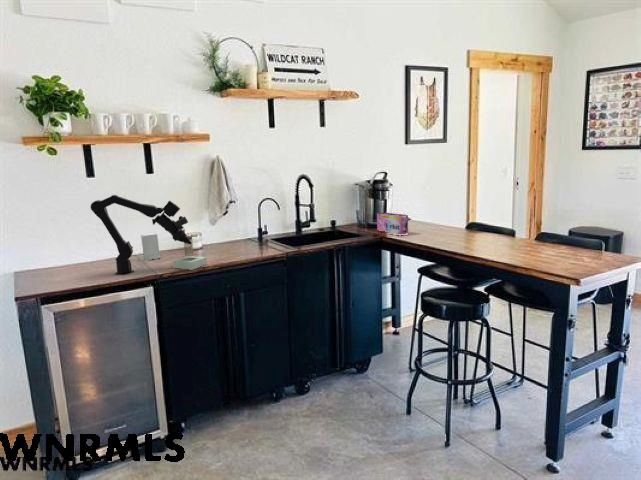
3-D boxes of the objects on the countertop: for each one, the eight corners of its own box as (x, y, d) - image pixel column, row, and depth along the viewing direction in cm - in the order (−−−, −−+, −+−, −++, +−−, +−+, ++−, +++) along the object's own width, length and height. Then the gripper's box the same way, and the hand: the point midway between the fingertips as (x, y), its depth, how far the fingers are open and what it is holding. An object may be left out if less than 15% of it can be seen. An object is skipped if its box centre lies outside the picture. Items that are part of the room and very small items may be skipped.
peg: (191, 256, 254) (189, 237, 252) (183, 256, 255) (182, 237, 253) (194, 254, 258) (193, 236, 257) (187, 254, 259) (185, 236, 257)
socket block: (192, 269, 250) (191, 262, 249) (173, 268, 255) (173, 260, 254) (206, 264, 261) (206, 257, 260) (188, 263, 266) (188, 256, 265)
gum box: (410, 235, 324) (410, 215, 321) (401, 237, 319) (401, 216, 317) (385, 231, 343) (384, 212, 340) (376, 233, 338) (376, 213, 336)
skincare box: (158, 257, 285) (155, 232, 282) (160, 259, 280) (157, 233, 277) (143, 259, 281) (140, 233, 278) (145, 261, 276) (142, 235, 273)
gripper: (177, 213, 243) (202, 234, 247) (177, 210, 260) (200, 228, 265) (162, 230, 242) (187, 250, 247) (163, 225, 260) (186, 244, 265)
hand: (191, 242), depth 256 cm, fingers closed on peg, 4 cm apart
